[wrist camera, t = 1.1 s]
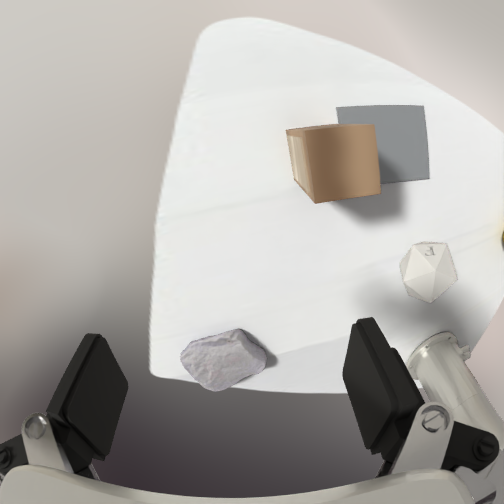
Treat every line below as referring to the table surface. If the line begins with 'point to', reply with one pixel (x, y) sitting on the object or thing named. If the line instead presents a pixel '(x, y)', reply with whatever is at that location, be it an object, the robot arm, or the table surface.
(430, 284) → the die
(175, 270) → the table surface
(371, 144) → the walnut block
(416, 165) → the pad
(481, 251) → the table surface
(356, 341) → the robot arm
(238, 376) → the stone block
